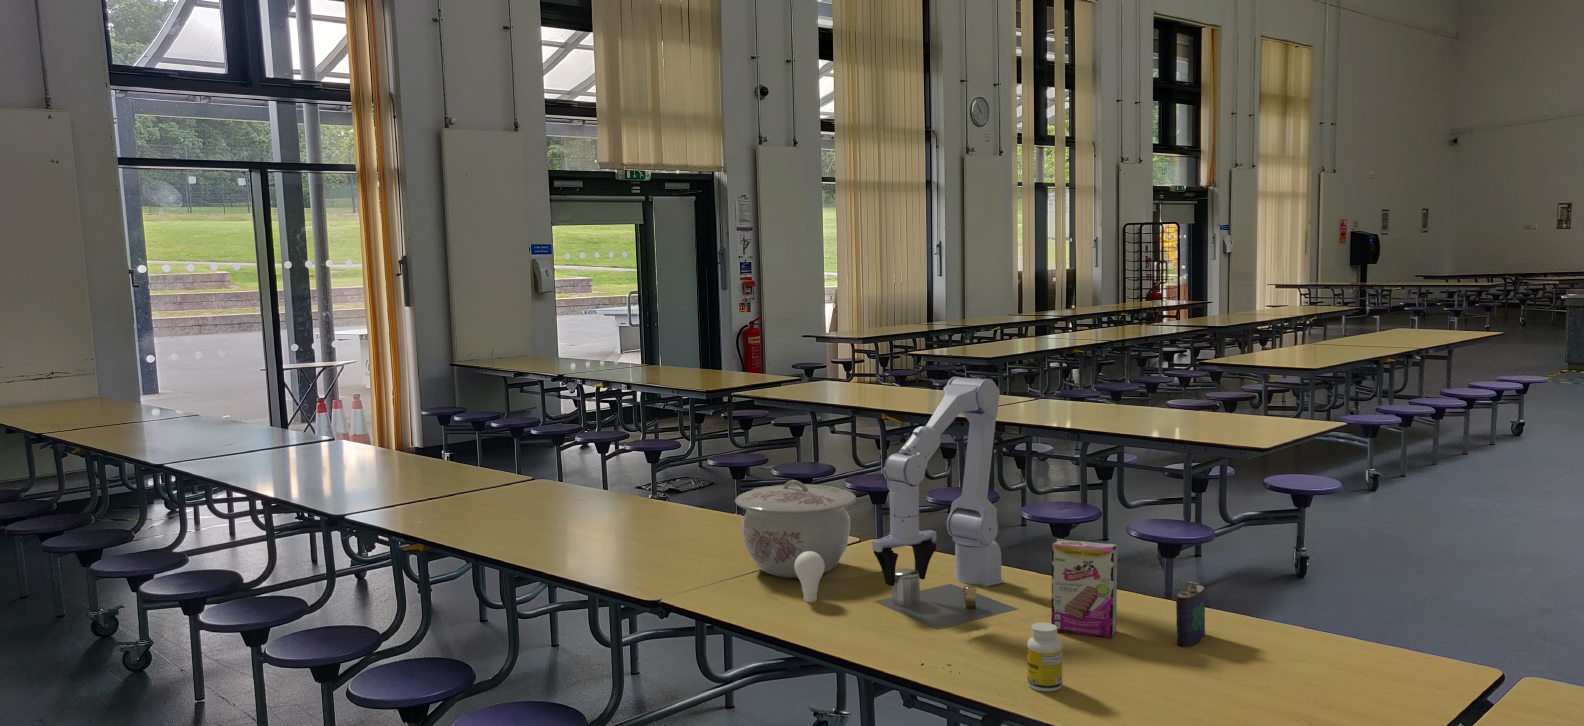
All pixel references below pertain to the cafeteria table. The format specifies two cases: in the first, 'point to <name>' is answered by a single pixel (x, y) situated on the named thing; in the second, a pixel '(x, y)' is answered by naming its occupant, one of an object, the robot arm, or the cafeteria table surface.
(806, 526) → the chamber pot
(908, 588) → the cylinder
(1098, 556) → the candy bar box
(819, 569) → the lightbulb
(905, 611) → the base board
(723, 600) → the cafeteria table surface
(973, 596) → the tan rounded cylinder
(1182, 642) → the flask
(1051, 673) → the supplement bottle
